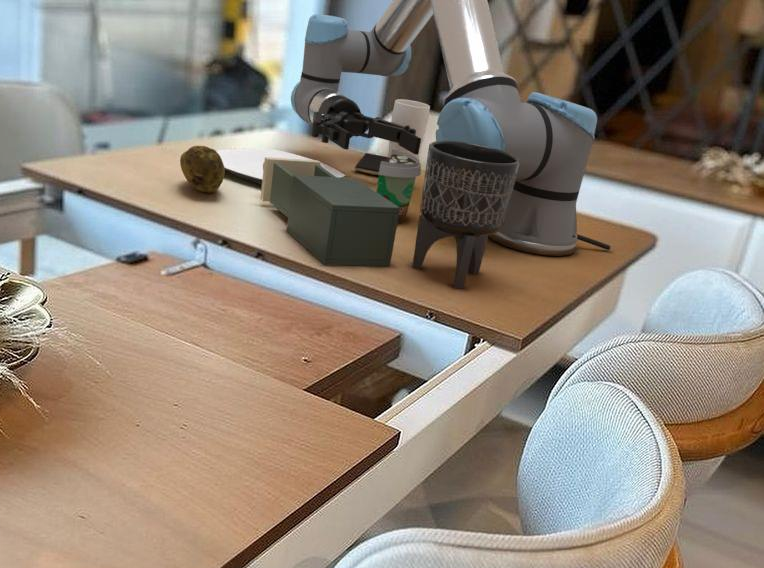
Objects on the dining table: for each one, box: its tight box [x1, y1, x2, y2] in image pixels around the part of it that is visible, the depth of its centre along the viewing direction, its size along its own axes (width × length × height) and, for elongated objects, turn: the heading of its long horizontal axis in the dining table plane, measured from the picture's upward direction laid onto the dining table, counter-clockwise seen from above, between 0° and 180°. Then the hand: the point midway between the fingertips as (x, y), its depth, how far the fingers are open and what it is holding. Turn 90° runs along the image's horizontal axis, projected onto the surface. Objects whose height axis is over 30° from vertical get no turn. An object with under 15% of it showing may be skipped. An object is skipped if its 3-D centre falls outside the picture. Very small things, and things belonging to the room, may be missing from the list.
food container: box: [376, 149, 422, 224], centre depth 170 cm, size 12×6×10 cm, turn 168°
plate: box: [216, 148, 347, 185], centre depth 186 cm, size 23×23×2 cm
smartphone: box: [354, 152, 388, 176], centre depth 204 cm, size 7×1×15 cm
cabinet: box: [286, 175, 400, 267], centre depth 151 cm, size 16×11×9 cm
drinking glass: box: [387, 98, 431, 160], centre depth 192 cm, size 7×7×15 cm
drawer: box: [260, 157, 335, 218], centre depth 164 cm, size 19×9×7 cm, turn 23°
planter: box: [412, 140, 520, 290], centre depth 145 cm, size 13×13×18 cm
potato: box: [179, 145, 226, 193], centre depth 166 cm, size 8×13×8 cm, turn 174°
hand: (383, 143), depth 174 cm, fingers open, 13 cm apart
